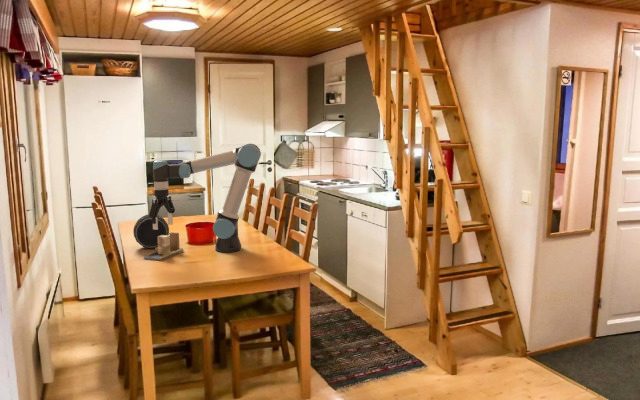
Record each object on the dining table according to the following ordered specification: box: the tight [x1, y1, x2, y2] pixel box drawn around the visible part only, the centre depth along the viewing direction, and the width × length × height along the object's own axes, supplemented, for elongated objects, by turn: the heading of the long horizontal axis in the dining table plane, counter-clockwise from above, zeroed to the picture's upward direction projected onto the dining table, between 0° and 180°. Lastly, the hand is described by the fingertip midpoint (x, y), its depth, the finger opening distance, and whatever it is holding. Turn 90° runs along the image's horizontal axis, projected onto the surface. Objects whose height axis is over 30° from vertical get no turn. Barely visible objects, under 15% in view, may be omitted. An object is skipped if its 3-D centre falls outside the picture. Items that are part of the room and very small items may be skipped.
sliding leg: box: [154, 235, 170, 255], centre depth 282 cm, size 8×4×10 cm, turn 72°
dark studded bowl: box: [133, 213, 170, 249], centre depth 300 cm, size 11×20×20 cm, turn 110°
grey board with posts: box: [143, 231, 184, 262], centre depth 284 cm, size 11×21×11 cm, turn 162°
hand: (163, 226), depth 280 cm, fingers open, 13 cm apart
